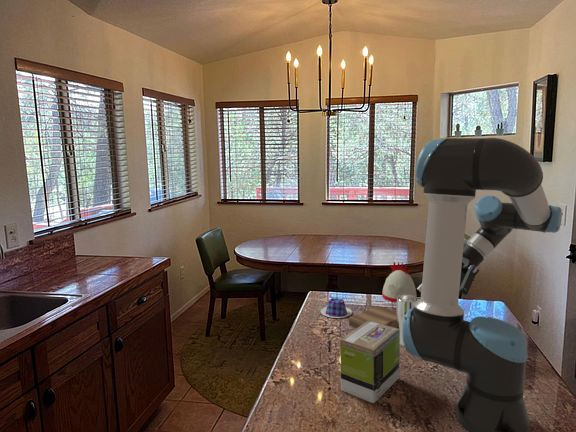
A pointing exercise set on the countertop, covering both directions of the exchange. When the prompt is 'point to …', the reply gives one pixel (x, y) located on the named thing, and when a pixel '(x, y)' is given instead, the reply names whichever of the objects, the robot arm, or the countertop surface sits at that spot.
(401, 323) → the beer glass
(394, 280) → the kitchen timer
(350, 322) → the walnut serving board
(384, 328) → the tea box
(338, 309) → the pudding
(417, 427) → the countertop surface
